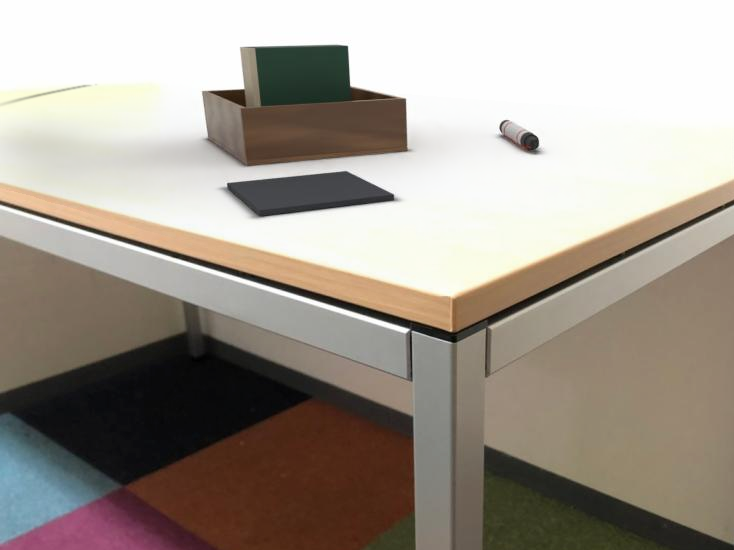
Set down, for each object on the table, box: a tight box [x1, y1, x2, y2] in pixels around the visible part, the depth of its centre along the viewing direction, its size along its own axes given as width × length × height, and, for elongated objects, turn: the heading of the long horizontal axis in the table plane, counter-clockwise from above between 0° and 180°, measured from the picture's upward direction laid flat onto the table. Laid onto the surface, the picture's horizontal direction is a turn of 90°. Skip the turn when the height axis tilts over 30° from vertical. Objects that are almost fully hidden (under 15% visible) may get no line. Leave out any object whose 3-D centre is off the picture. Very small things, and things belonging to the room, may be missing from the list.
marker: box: [498, 119, 540, 152], centre depth 93 cm, size 15×2×2 cm, turn 9°
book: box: [239, 44, 351, 107], centre depth 91 cm, size 4×12×11 cm, turn 118°
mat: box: [226, 170, 395, 217], centre depth 68 cm, size 12×12×1 cm
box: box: [201, 85, 408, 166], centre depth 92 cm, size 21×19×6 cm
